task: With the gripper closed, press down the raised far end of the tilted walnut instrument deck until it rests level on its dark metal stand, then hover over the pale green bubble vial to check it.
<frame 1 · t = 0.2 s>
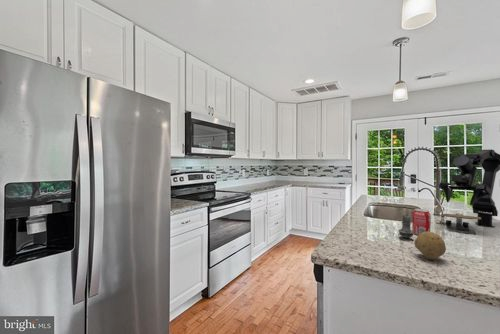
hand: (458, 203, 112), 15 cm above the counter, tool tilted 30°, fingers open, 9 cm apart
salt shaker: (405, 239, 104), on the counter
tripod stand: (458, 228, 120), on the counter
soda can: (420, 234, 110), on the counter
instrument deck: (459, 215, 120), point 7 cm above the counter, hinge at -12.0°
potato: (429, 259, 84), on the counter
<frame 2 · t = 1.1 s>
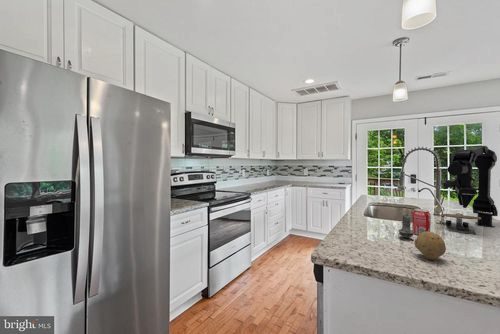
hand: (462, 206, 113), 13 cm above the counter, tool pointing down, fingers open, 8 cm apart
nothing on the counter moved.
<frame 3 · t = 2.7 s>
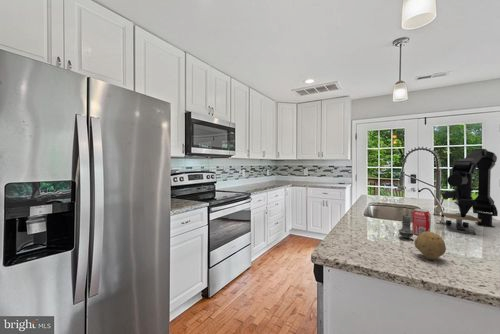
hand: (462, 217, 113), 8 cm above the counter, tool pointing down, fingers closed, pressing on instrument deck
instrument deck: (459, 215, 120), point 7 cm above the counter, hinge at -6.1°, touching gripper
everything else where it was.
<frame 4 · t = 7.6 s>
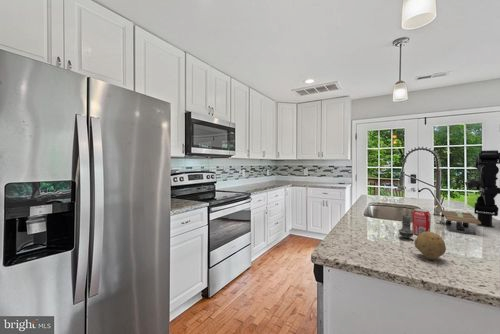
hand: (487, 205, 116), 13 cm above the counter, tool pointing down, fingers closed
instrument deck: (459, 215, 120), point 7 cm above the counter, hinge at 0.2°
everything else where it was.
at the end: instrument deck at +0° (first picture: -12°); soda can moved 0.2 cm from its start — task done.
